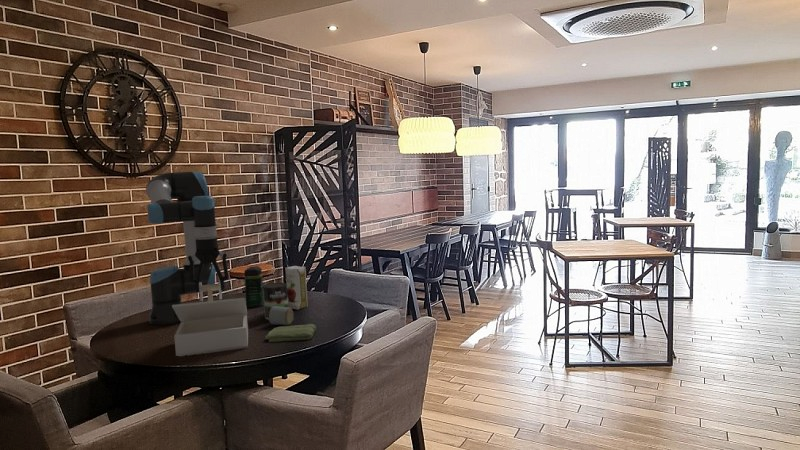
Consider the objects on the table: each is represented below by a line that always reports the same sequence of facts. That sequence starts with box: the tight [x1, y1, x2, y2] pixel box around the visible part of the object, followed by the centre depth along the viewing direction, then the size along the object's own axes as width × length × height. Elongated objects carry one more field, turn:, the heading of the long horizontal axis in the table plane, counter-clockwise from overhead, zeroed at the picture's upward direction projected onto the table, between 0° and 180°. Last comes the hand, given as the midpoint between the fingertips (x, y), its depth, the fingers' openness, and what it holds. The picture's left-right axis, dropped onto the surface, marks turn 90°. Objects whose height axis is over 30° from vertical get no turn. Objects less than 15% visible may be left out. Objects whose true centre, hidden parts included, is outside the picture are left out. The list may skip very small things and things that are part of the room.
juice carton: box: [285, 265, 309, 310], centre depth 239 cm, size 8×9×19 cm
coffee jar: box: [243, 265, 264, 308], centre depth 246 cm, size 10×8×19 cm
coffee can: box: [263, 282, 288, 321], centre depth 225 cm, size 10×10×14 cm
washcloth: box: [265, 323, 317, 343], centre depth 198 cm, size 13×18×3 cm
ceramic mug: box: [268, 306, 294, 326], centre depth 215 cm, size 11×8×8 cm
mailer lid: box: [172, 283, 248, 322], centre depth 193 cm, size 18×24×9 cm
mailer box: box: [173, 314, 249, 357], centre depth 191 cm, size 18×24×8 cm
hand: (211, 299), depth 192 cm, fingers closed on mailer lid, 6 cm apart
